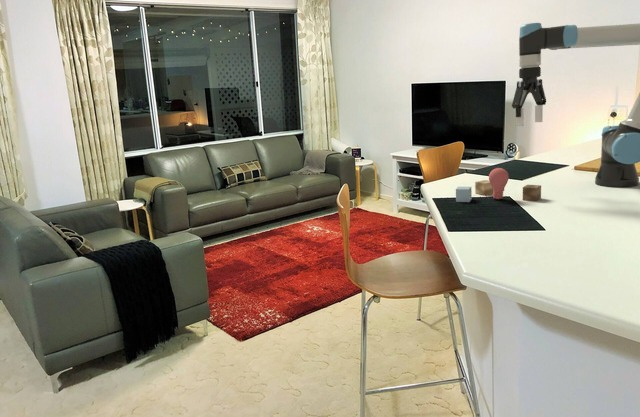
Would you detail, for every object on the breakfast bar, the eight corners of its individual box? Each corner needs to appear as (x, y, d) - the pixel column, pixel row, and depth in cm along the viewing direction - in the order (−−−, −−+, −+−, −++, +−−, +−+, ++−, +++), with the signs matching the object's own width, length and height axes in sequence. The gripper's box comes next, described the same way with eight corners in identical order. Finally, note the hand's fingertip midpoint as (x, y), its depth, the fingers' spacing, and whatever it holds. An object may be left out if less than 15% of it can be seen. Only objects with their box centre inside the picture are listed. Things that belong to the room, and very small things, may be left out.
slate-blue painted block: (471, 199, 198) (471, 186, 197) (469, 202, 194) (469, 189, 192) (458, 199, 200) (458, 186, 199) (456, 202, 196) (455, 189, 195)
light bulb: (509, 197, 196) (509, 166, 193) (507, 201, 189) (507, 169, 187) (490, 197, 199) (489, 166, 196) (487, 201, 192) (487, 169, 190)
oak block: (493, 193, 204) (493, 181, 203) (484, 195, 202) (484, 183, 201) (484, 192, 209) (484, 180, 207) (475, 193, 207) (475, 181, 205)
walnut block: (540, 198, 190) (541, 185, 189) (536, 201, 187) (536, 188, 186) (527, 197, 194) (527, 184, 192) (522, 200, 190) (522, 187, 189)
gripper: (537, 66, 201) (537, 120, 206) (502, 69, 187) (502, 127, 192) (556, 64, 196) (555, 120, 200) (520, 67, 181) (520, 127, 186)
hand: (529, 124), depth 196 cm, fingers open, 13 cm apart
